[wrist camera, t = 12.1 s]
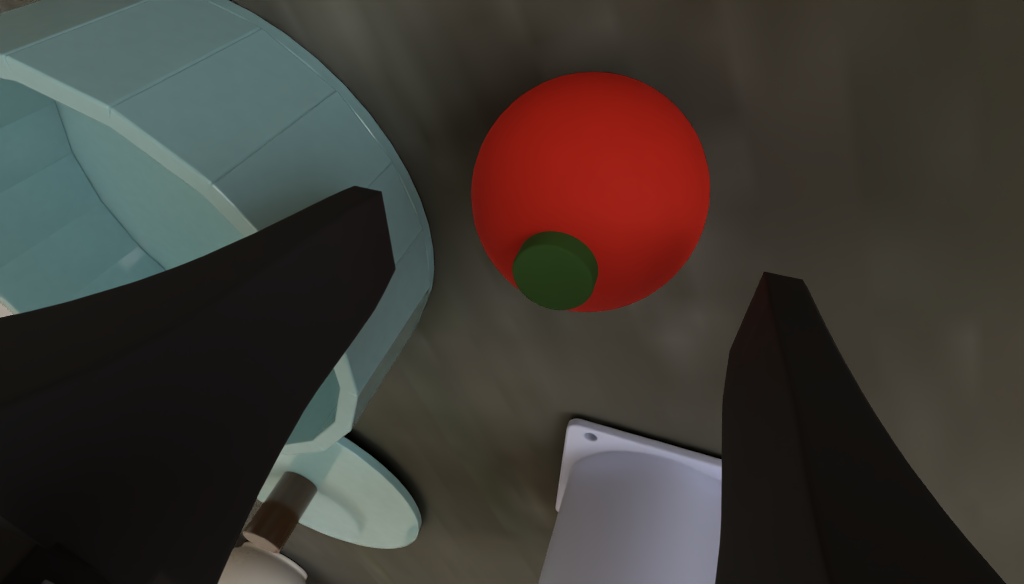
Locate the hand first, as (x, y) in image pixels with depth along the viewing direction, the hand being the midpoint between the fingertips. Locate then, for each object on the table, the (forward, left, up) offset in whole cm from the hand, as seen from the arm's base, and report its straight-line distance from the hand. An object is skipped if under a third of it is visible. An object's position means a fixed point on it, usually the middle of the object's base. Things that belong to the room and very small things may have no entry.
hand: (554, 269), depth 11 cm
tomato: (0, 0, -3) cm, 3 cm away
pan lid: (+16, +26, -5) cm, 31 cm away
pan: (+13, +5, -5) cm, 15 cm away
